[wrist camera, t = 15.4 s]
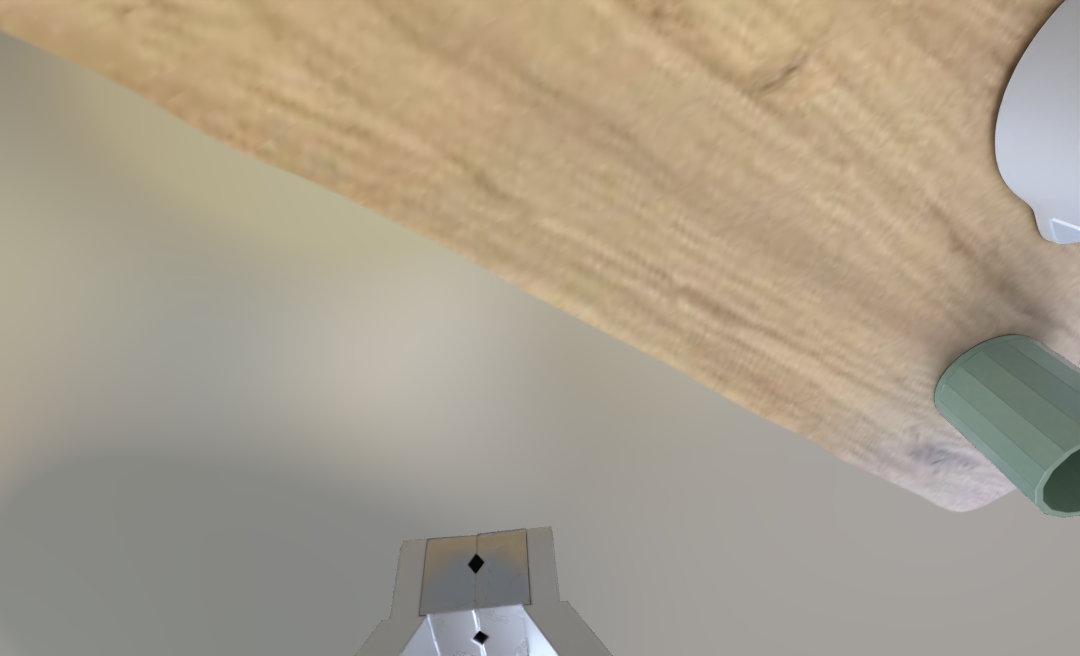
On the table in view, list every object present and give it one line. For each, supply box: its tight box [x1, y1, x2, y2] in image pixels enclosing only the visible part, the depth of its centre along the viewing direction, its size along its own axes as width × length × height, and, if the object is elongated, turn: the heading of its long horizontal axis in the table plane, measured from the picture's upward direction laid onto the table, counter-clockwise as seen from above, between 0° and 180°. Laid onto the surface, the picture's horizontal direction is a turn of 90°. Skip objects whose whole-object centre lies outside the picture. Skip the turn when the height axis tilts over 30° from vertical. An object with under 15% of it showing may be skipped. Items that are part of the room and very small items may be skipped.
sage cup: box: [934, 335, 1080, 518], centre depth 40 cm, size 8×8×10 cm
